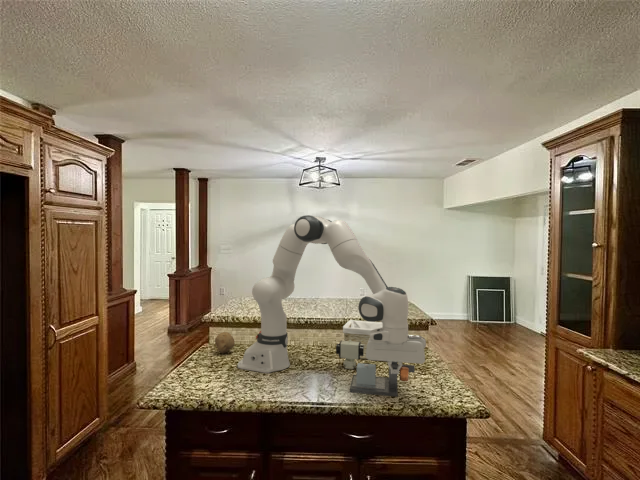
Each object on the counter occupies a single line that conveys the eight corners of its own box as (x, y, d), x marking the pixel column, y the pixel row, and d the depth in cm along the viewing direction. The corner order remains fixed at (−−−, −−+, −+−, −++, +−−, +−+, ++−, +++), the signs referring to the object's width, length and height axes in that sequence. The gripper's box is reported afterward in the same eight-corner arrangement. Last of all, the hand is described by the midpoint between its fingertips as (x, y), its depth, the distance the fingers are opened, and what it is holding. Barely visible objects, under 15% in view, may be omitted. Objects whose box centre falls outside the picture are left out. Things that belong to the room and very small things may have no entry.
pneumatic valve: (362, 370, 151) (363, 342, 151) (335, 368, 154) (335, 340, 154) (363, 366, 157) (364, 339, 157) (337, 364, 159) (337, 337, 159)
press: (349, 392, 130) (350, 342, 130) (353, 377, 144) (353, 332, 144) (414, 398, 126) (415, 347, 126) (412, 382, 140) (412, 336, 140)
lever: (399, 380, 124) (399, 369, 124) (399, 373, 130) (399, 363, 130) (408, 381, 123) (408, 370, 123) (407, 374, 129) (407, 363, 129)
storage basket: (341, 357, 168) (341, 326, 168) (348, 347, 184) (348, 319, 183) (393, 363, 161) (393, 330, 161) (395, 352, 177) (396, 322, 177)
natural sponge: (232, 349, 178) (233, 329, 178) (236, 354, 170) (236, 333, 170) (213, 351, 175) (214, 330, 175) (216, 357, 167) (216, 335, 166)
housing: (356, 383, 134) (356, 366, 134) (357, 378, 139) (357, 362, 139) (375, 385, 133) (375, 368, 133) (375, 380, 138) (375, 363, 138)
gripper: (425, 333, 126) (424, 372, 126) (366, 330, 130) (366, 368, 130) (427, 338, 120) (426, 379, 120) (365, 334, 124) (365, 374, 124)
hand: (394, 373), depth 125 cm, fingers closed
